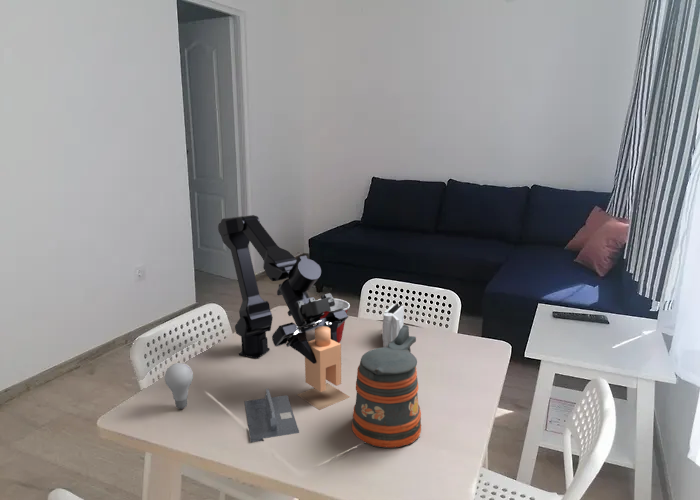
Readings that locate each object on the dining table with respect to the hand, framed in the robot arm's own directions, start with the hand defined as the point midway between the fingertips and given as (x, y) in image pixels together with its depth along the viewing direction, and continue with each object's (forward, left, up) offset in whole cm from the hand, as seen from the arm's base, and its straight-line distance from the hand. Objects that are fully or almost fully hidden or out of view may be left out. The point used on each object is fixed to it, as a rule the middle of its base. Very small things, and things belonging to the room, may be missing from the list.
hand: (326, 358), depth 121 cm
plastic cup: (-13, +32, -11) cm, 36 cm away
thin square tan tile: (-1, +1, -10) cm, 11 cm away
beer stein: (+17, -4, -11) cm, 20 cm away
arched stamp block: (-1, +1, -7) cm, 7 cm away
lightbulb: (-29, -16, -11) cm, 35 cm away
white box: (+5, +37, -11) cm, 39 cm away
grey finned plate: (-8, -12, -10) cm, 18 cm away
